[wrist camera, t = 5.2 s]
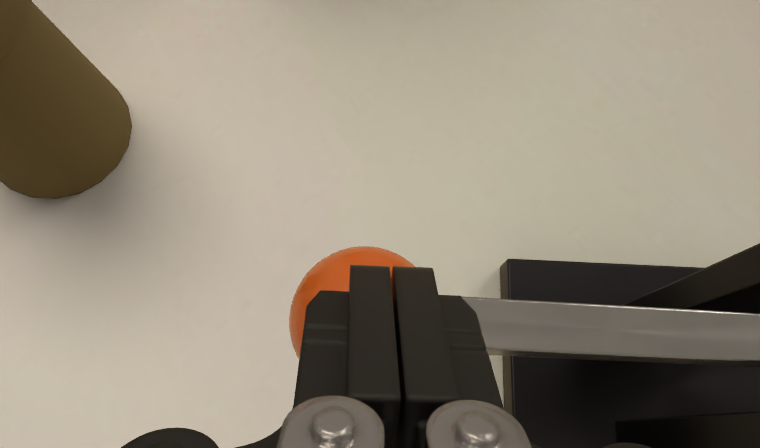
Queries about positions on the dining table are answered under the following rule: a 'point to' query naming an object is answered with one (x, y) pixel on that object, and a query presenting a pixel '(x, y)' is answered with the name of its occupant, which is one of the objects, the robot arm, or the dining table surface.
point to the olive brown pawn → (54, 109)
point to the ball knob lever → (567, 323)
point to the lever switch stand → (634, 379)
